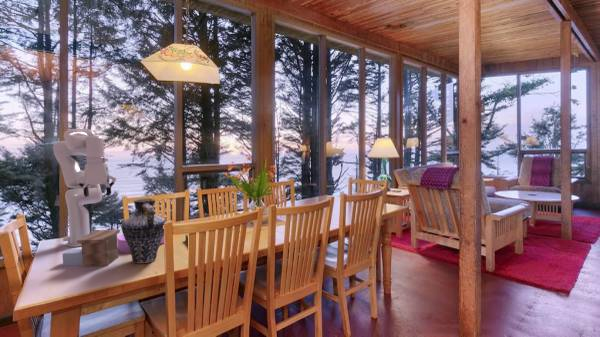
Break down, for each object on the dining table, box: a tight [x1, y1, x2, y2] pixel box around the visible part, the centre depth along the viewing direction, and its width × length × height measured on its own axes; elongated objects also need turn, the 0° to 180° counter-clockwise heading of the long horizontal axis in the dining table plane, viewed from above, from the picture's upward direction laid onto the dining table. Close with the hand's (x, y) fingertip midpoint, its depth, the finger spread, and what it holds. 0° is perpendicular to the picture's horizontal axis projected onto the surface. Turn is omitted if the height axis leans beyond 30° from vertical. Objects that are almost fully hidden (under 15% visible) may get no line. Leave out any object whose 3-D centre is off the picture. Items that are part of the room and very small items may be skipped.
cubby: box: [77, 229, 121, 268], centre depth 160 cm, size 11×17×13 cm, turn 5°
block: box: [62, 248, 83, 266], centre depth 160 cm, size 18×6×6 cm, turn 95°
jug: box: [121, 197, 167, 264], centre depth 161 cm, size 21×19×30 cm
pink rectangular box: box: [117, 234, 164, 253], centre depth 185 cm, size 25×15×13 cm, turn 129°
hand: (97, 195), depth 165 cm, fingers open, 9 cm apart
